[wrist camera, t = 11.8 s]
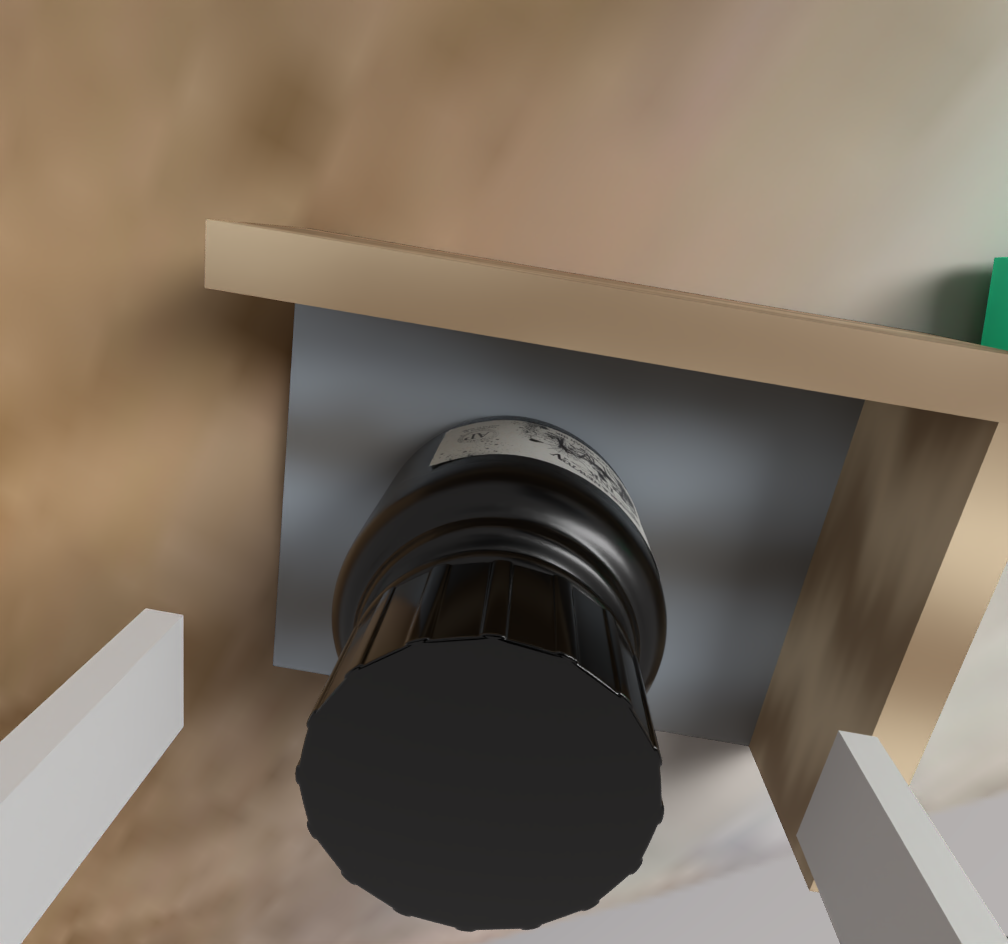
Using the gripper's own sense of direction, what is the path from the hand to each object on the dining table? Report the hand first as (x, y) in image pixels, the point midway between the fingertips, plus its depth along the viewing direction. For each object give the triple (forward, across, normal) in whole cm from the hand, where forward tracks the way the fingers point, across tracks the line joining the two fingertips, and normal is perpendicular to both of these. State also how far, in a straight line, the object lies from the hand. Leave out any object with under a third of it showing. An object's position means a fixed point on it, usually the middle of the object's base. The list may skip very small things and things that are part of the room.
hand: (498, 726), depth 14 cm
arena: (+11, +2, 0) cm, 12 cm away
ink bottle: (+11, 0, -1) cm, 11 cm away
